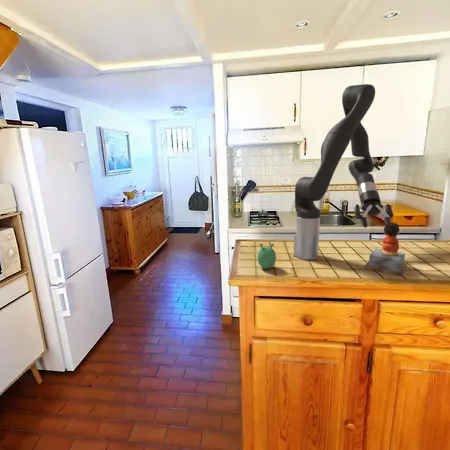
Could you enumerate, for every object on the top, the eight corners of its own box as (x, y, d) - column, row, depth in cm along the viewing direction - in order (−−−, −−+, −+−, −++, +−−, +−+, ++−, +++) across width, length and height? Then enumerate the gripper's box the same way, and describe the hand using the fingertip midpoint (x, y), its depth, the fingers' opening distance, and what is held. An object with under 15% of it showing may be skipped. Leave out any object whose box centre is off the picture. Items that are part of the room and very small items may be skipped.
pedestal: (364, 268, 107) (366, 255, 106) (372, 259, 116) (373, 247, 115) (401, 276, 100) (403, 262, 99) (407, 265, 109) (408, 252, 108)
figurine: (401, 257, 104) (405, 224, 101) (385, 256, 104) (389, 224, 102) (394, 251, 110) (397, 220, 107) (378, 251, 110) (381, 220, 108)
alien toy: (273, 263, 114) (274, 239, 112) (277, 271, 106) (277, 245, 104) (256, 264, 114) (256, 240, 112) (258, 271, 107) (258, 246, 104)
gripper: (354, 189, 122) (361, 221, 114) (389, 189, 121) (399, 221, 112) (349, 200, 128) (356, 231, 120) (382, 199, 127) (391, 231, 119)
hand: (377, 226), depth 116 cm, fingers open, 8 cm apart
